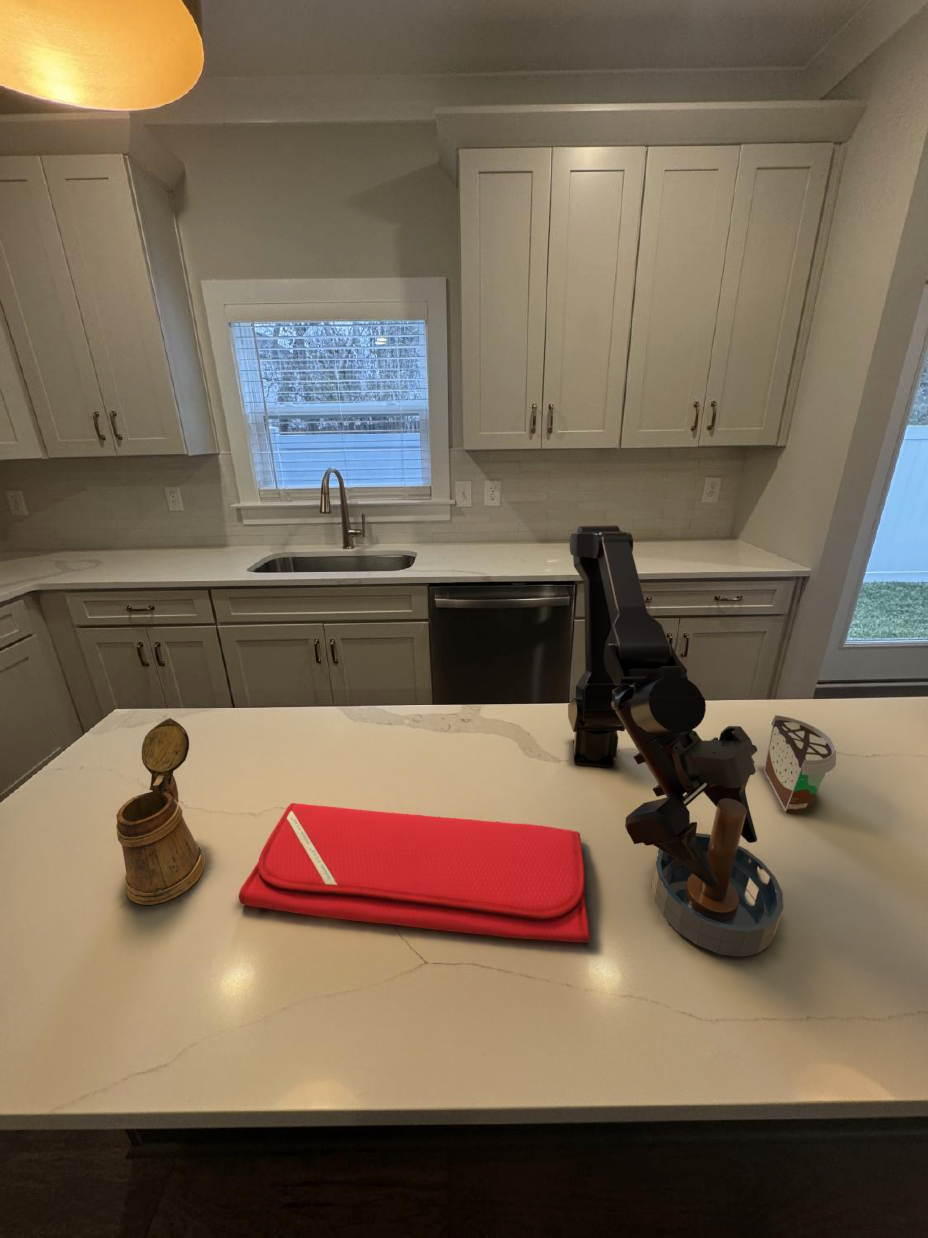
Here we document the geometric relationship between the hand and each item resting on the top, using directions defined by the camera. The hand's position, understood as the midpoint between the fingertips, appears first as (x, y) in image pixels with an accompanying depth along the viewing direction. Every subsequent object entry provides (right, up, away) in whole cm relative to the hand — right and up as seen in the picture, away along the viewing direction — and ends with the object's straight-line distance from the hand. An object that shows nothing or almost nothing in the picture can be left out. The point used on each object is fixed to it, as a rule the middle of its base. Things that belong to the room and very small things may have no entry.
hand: (734, 862), depth 56 cm
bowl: (-1, -7, +4) cm, 8 cm away
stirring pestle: (-1, -6, +4) cm, 7 cm away
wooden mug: (-68, -5, +11) cm, 70 cm away
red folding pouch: (-36, -6, +9) cm, 37 cm away
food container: (+21, 0, +21) cm, 30 cm away
